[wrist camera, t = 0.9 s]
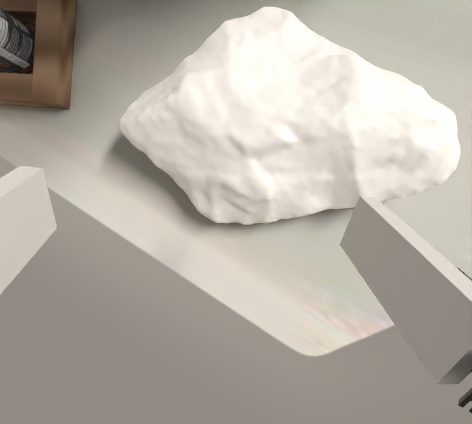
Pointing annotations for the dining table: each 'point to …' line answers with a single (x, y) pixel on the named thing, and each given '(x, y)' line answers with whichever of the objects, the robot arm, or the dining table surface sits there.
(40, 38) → the pocket block
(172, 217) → the dining table surface
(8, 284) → the robot arm
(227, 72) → the crumpled cloth
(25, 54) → the supplement bottle
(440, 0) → the dining table surface
